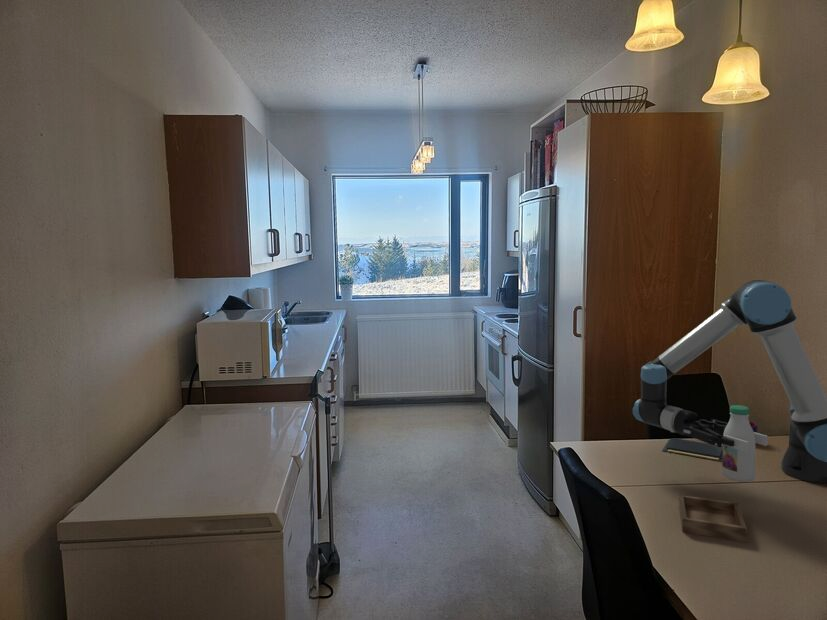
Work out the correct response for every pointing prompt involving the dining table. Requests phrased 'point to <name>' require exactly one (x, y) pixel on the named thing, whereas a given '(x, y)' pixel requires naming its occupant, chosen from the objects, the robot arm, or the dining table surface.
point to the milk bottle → (734, 460)
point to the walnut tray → (712, 518)
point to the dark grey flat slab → (694, 449)
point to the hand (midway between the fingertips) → (757, 443)
